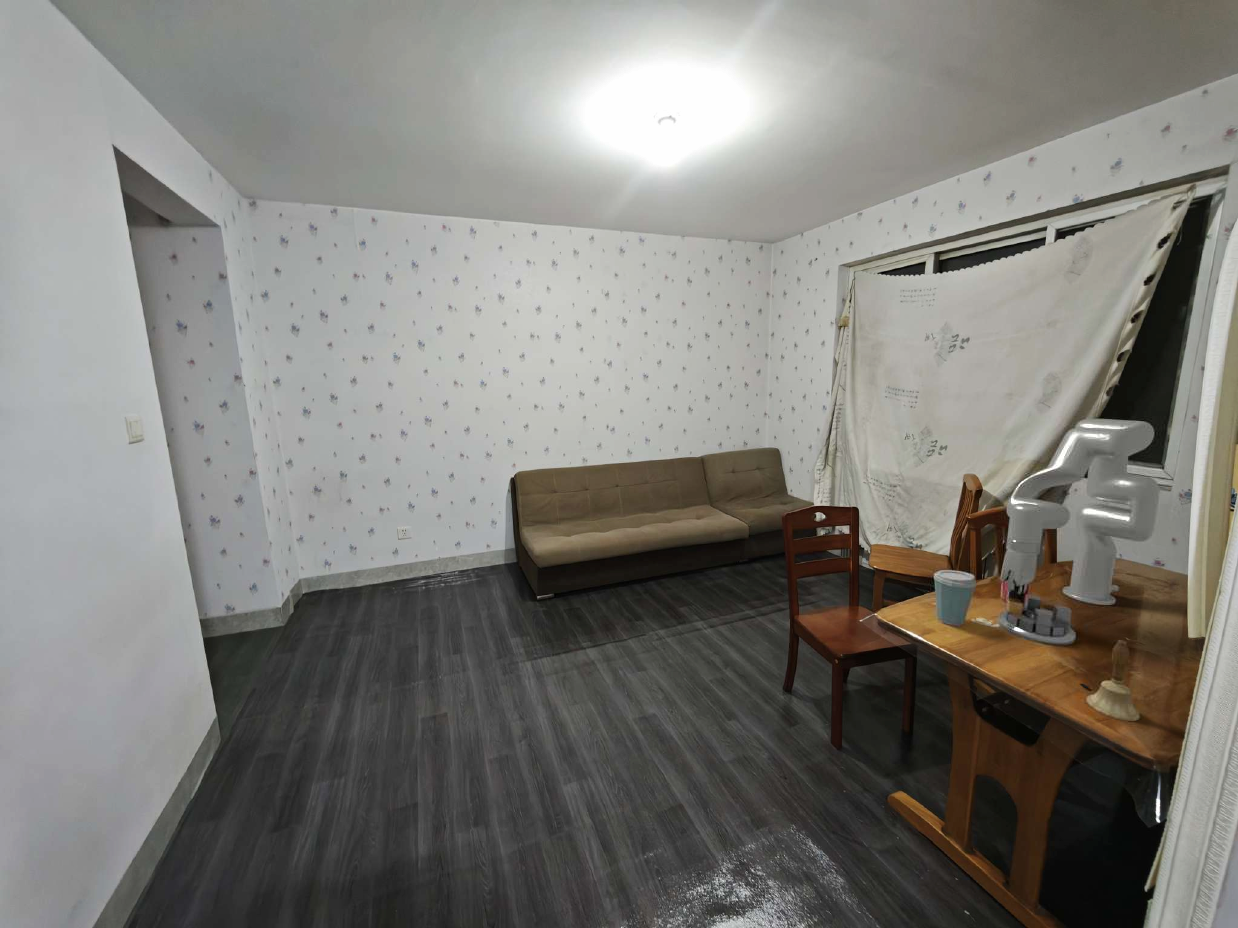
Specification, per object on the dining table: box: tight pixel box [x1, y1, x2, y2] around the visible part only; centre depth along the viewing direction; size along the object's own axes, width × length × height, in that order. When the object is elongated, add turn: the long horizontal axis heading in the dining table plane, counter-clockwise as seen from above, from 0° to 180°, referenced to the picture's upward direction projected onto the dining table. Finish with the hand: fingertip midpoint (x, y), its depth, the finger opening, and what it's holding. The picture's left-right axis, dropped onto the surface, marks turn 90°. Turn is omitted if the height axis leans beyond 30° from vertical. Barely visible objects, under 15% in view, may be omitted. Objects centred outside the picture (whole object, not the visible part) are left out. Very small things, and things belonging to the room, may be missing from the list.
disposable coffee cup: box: [933, 569, 977, 627], centre depth 145 cm, size 11×11×15 cm
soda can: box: [1000, 580, 1032, 605], centre depth 157 cm, size 7×7×12 cm
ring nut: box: [1004, 594, 1072, 636], centre depth 139 cm, size 14×14×6 cm
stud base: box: [997, 610, 1077, 646], centre depth 140 cm, size 17×17×5 cm
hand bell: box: [1085, 639, 1141, 722], centre depth 105 cm, size 8×8×16 cm
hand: (1015, 604), depth 144 cm, fingers closed
